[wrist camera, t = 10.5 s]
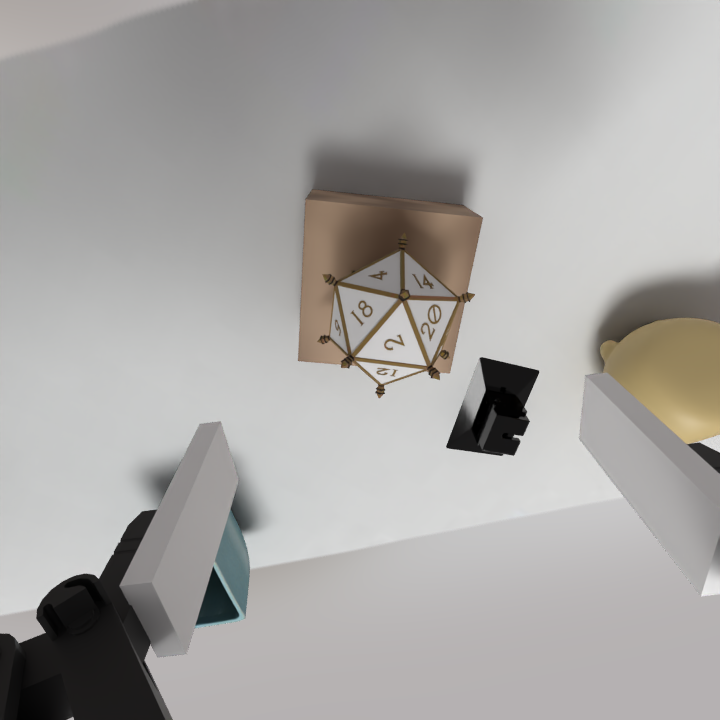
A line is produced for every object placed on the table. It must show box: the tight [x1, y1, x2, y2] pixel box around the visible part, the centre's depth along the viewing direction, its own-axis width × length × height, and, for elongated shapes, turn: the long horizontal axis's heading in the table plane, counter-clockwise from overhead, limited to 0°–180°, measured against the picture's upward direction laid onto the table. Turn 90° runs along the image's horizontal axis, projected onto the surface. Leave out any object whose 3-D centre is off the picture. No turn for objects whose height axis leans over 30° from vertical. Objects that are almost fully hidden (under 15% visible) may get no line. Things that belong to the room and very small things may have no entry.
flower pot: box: [194, 509, 250, 629], centre depth 43 cm, size 9×9×9 cm
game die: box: [317, 232, 475, 398], centre depth 27 cm, size 9×8×10 cm
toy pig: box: [600, 318, 720, 444], centre depth 34 cm, size 10×12×11 cm
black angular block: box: [446, 357, 539, 456], centre depth 40 cm, size 12×7×5 cm, turn 168°
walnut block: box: [298, 189, 483, 373], centre depth 33 cm, size 11×11×6 cm
